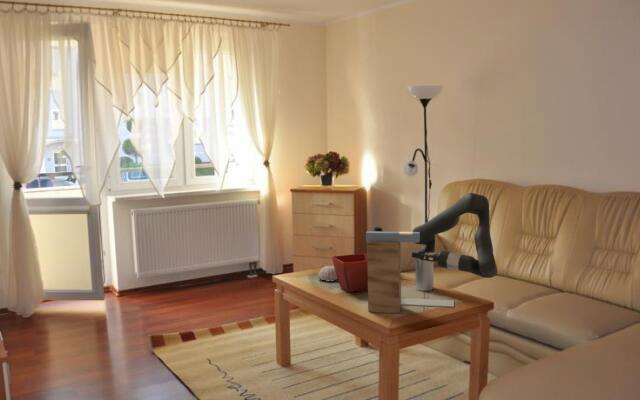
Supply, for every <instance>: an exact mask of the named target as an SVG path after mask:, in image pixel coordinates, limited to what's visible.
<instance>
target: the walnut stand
mask: <svg viewBox="0 0 640 400" xmlns="http://www.w3.org/2000/svg"><path fill="white" fill-rule="evenodd" d="M401 245H402V242H371V241H366V247H367V248H366V251H367V252H366V253H367V264H368V290H367V308H368V309H367V312H368V311H371V312H370V313H385V314H386V313H388V314H389V313H390V314H400V312H401V308H402V305H401V298H402V274H401V271H402V262H401V261H402V260H401V258H402V257H401V255H402V254H401Z"/></svg>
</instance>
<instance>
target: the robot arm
mask: <svg viewBox="0 0 640 400" xmlns="http://www.w3.org/2000/svg"><path fill="white" fill-rule="evenodd" d="M465 214H472V215H476V216H477V218H478V226H477V229H476V231H475V233H474V245H475V251H476V254H477V259H475V257H474V256H472V255H466V254H461V253H457V252H452V251H448V250H440V252H439V253H437V252H435V251H436V250H435V249H436V235H440V234H442V233H445V232H448V231H449V230H451V229H453V228H455V227H456V226H458V224H459V222H460V217H461V216H462V215H465ZM490 223H491V222H490V204H489V200H488V198H487V196H485V195H483V194H480V193H479V194H478V193H474V192H469V193H465V194H464V195H463V196H462V197H460V198H459V199H458V200H457V201H456V202H455V203H453V204H452V205H450V206H449V207H448V208H446V209H444V210H443V211H441V212H440V213H438V214H437V215H435V216H434V217H432V218H431V219H429V220H428V221H426V222H424V223H423V224H421V225H418V226H416V227H414V228H413V230H412V231H411V232H420V242H413V243H414V244H417V245H421V246H420V247H419V248H418V249H417V250H415V252H411V253H412V254H411V257H412V258H414V259H415V262H414V263H415V290H417V291H419V292H420V291H421V292H429V291H430V292H431V291H433V290H434V263H437V266H438V267H439V268H443V269H447V270H452V271H460V272H461V271H462V272H466V273H471V274H472V275H476V276H477V277H481V278H485V279H486V278H487V279H491V278H494V277H495V276H497V274H498V267H497V263H496V259H495V254H494V247H493V242H492V241H493V240H492V236H491V230H490V229H491V228H490V227H491V226H490V225H491V224H490ZM432 289H433V290H432Z"/></svg>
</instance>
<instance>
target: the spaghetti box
mask: <svg viewBox="0 0 640 400" xmlns="http://www.w3.org/2000/svg"><path fill="white" fill-rule="evenodd" d="M368 241H371V242H401V243H414V242H420V232H412V231H383V232H374V230H373V231H370V230H369V231H366V232H365V242H368Z"/></svg>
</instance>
